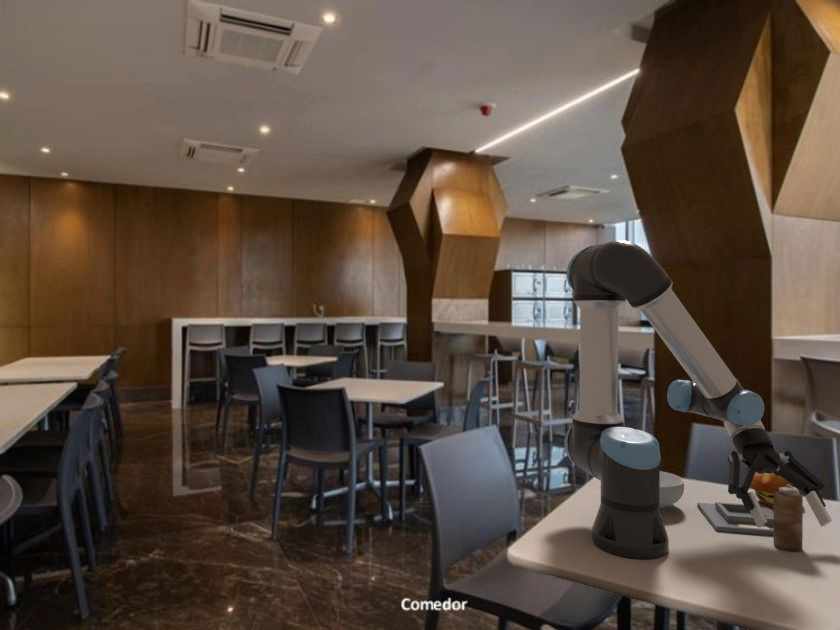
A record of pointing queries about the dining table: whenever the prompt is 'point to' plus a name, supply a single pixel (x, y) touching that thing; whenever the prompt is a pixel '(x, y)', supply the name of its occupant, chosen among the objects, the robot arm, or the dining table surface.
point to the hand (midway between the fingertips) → (794, 524)
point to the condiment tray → (736, 518)
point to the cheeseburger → (768, 486)
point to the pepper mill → (788, 519)
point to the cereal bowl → (670, 489)
